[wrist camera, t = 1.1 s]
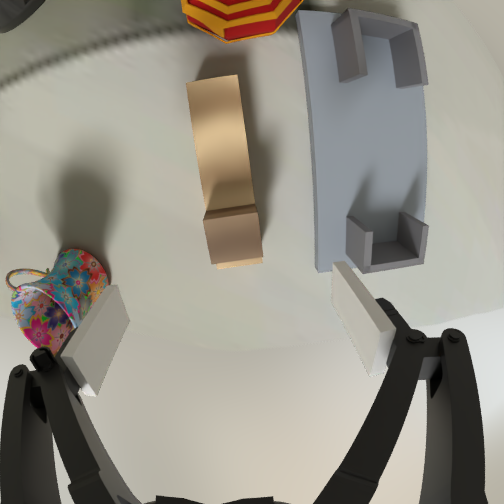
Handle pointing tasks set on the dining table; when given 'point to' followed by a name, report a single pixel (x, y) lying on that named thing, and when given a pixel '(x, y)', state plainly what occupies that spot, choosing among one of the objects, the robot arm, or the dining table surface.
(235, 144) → the tan stepped wooden block
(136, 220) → the dining table surface
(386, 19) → the grey slat holder base
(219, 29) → the potion bottle
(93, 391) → the robot arm
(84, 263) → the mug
